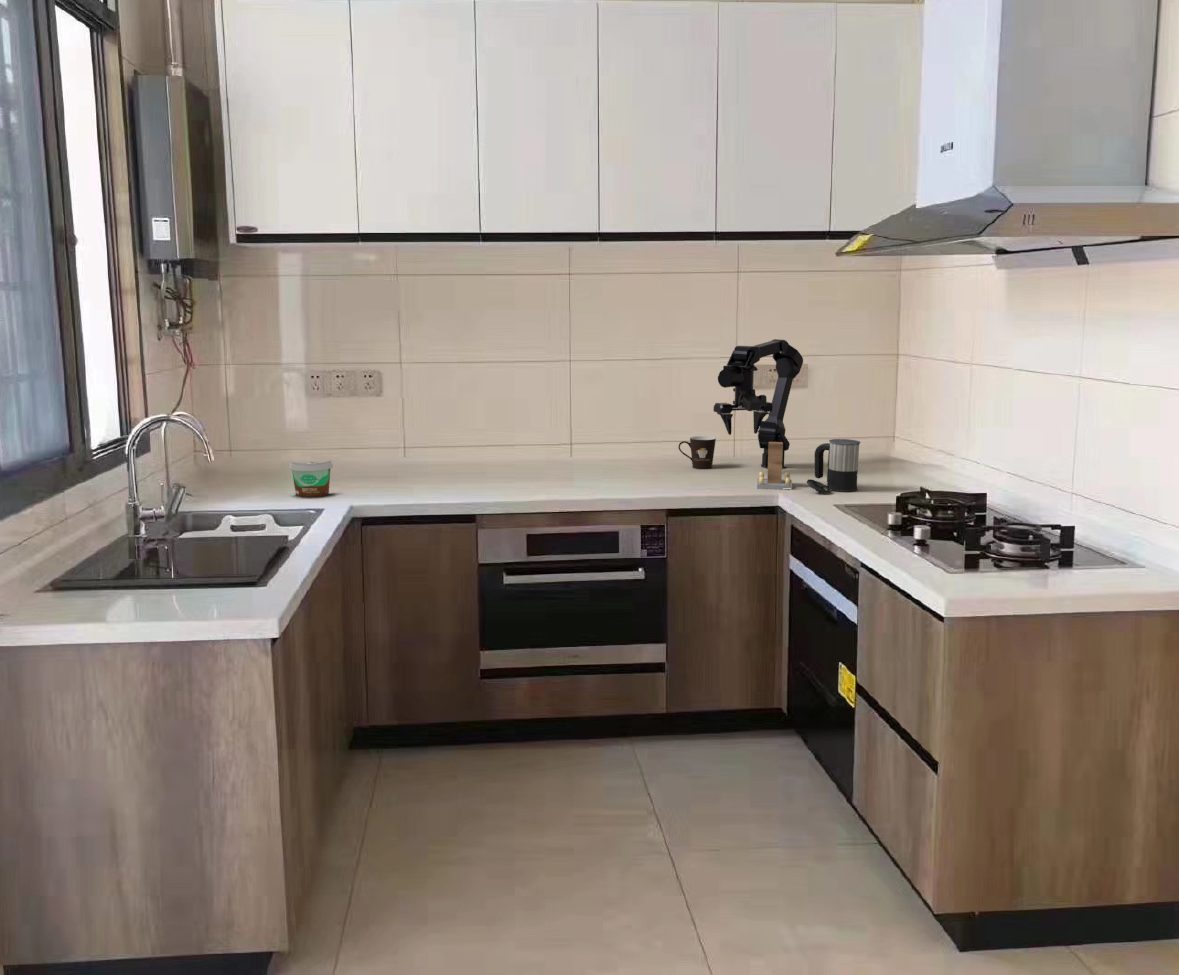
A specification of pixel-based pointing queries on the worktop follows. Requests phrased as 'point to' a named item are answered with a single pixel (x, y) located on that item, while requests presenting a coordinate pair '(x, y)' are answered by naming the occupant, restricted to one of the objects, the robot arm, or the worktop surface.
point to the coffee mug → (701, 451)
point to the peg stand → (764, 485)
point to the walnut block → (775, 462)
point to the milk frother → (837, 466)
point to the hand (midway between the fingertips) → (742, 434)
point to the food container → (311, 478)
